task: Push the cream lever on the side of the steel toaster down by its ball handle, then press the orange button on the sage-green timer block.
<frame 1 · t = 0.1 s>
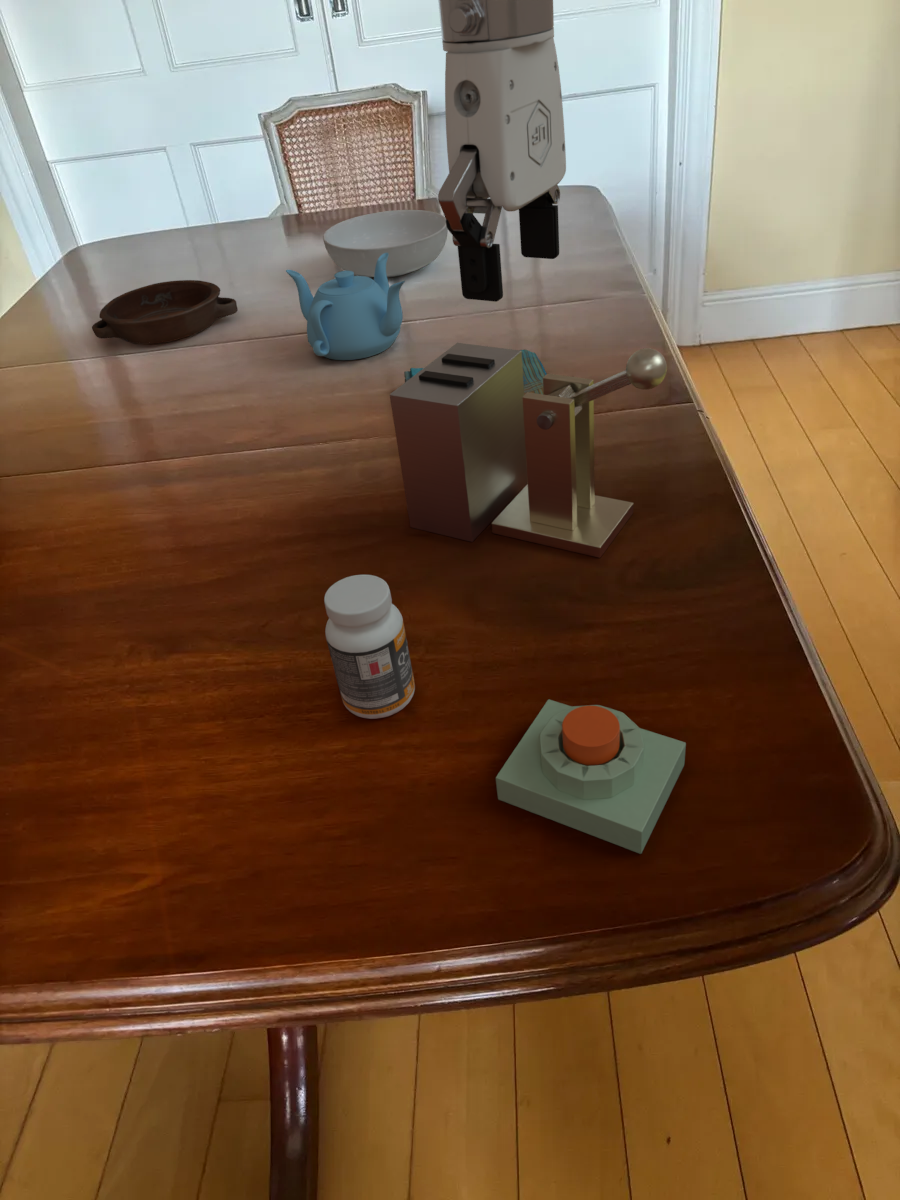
hand: (512, 276, 70), 24 cm above the table, tool pointing down, fingers open, 9 cm apart
timer block: (591, 782, 60), on the table
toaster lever: (601, 388, 74), point 14 cm above the table, hinge at 30.0°
teapot: (361, 344, 127), on the table
timer button: (590, 735, 57), point 5 cm above the table, slide at 0.2 cm
serving bowl: (391, 270, 152), on the table
dish towel: (487, 415, 105), on the table
toaster: (471, 503, 90), on the table
pill bottle: (379, 697, 69), on the table
bracket: (562, 523, 85), on the table
dish: (170, 331, 140), on the table
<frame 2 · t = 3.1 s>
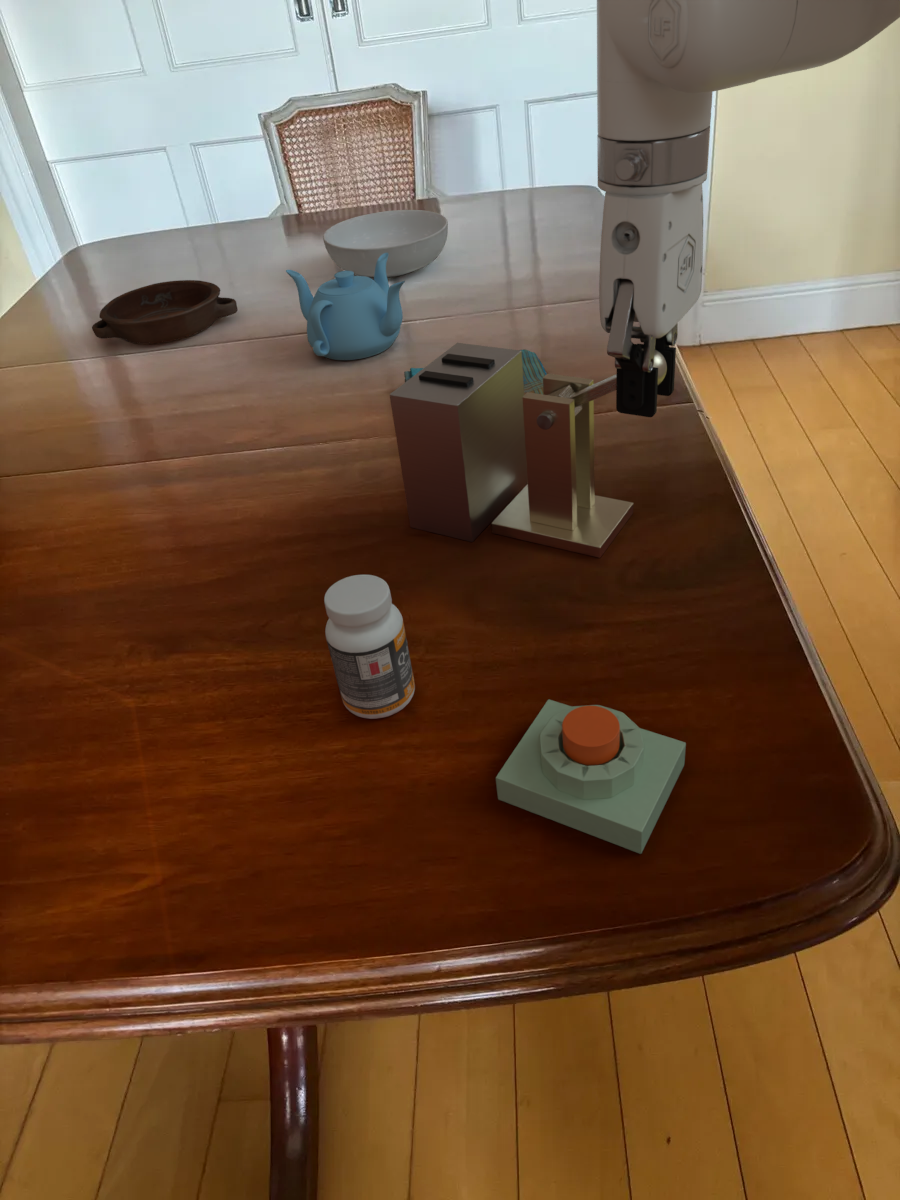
hand: (645, 400, 73), 14 cm above the table, tool pointing down, fingers closed on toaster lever, 3 cm apart
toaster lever: (601, 388, 74), point 14 cm above the table, hinge at 30.0°, touching gripper
everything else where it was.
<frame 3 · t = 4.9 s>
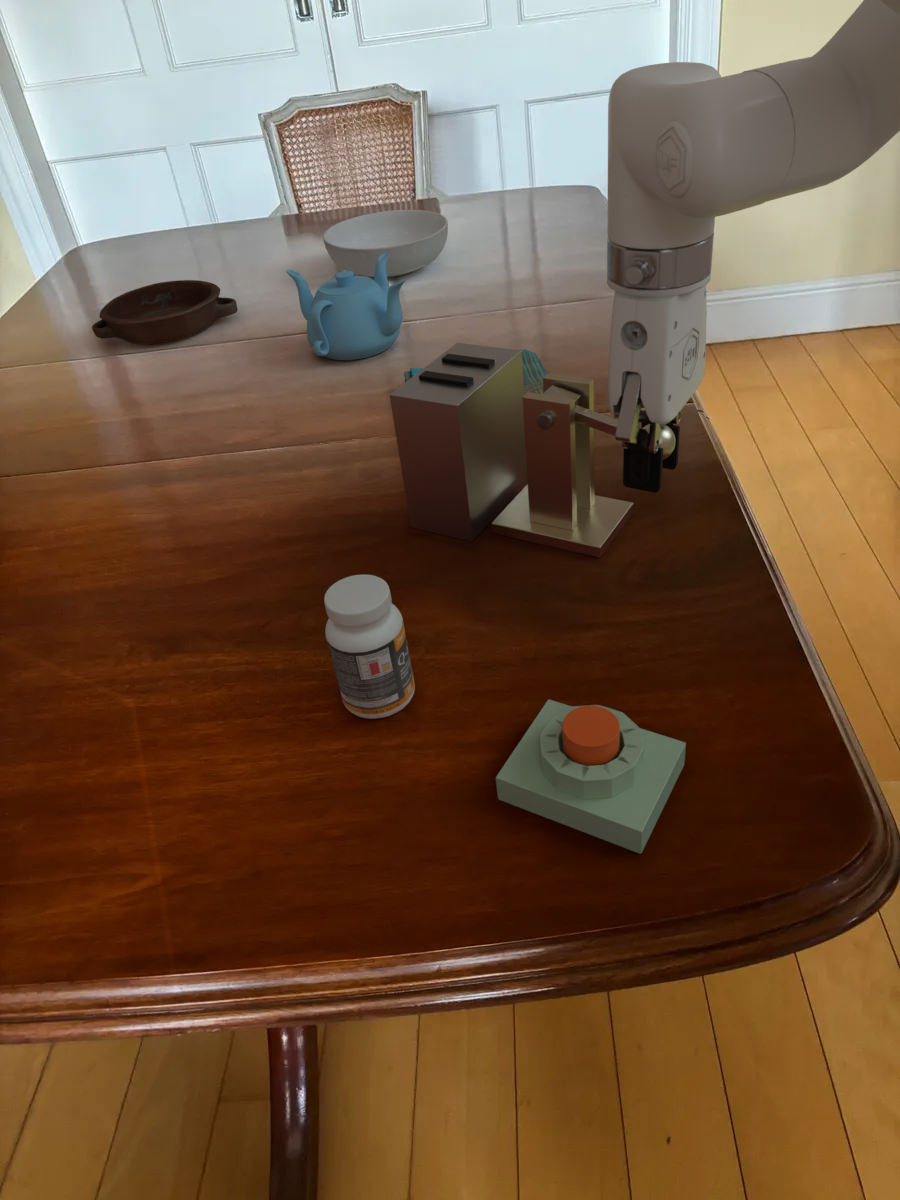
hand: (650, 475, 77), 7 cm above the table, tool pointing down, fingers closed on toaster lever, 3 cm apart
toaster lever: (607, 424, 76), point 11 cm above the table, hinge at -11.9°, touching gripper
everything else where it was.
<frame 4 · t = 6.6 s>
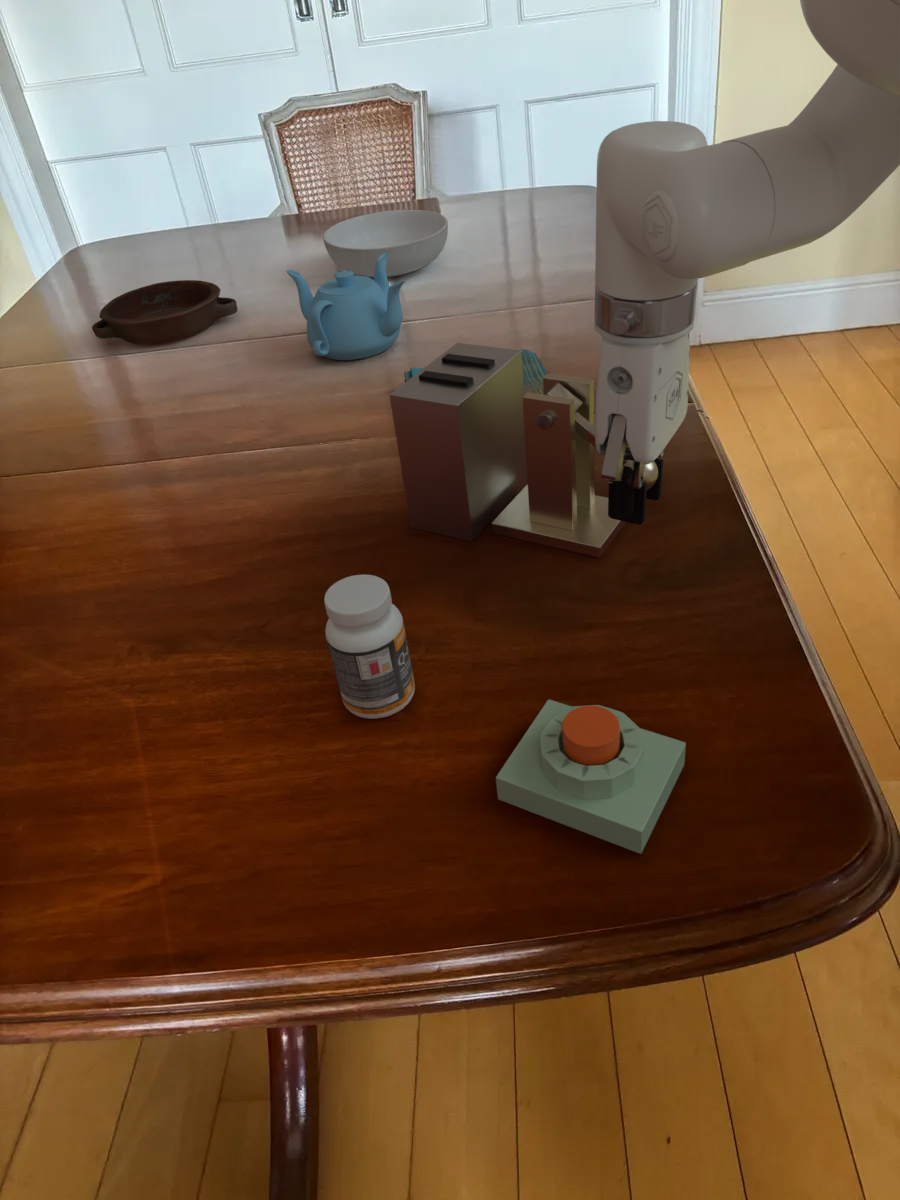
hand: (634, 506, 80), 3 cm above the table, tool pointing down, fingers closed on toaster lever, 3 cm apart
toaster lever: (599, 440, 78), point 9 cm above the table, hinge at -34.5°, touching gripper
everything else where it was.
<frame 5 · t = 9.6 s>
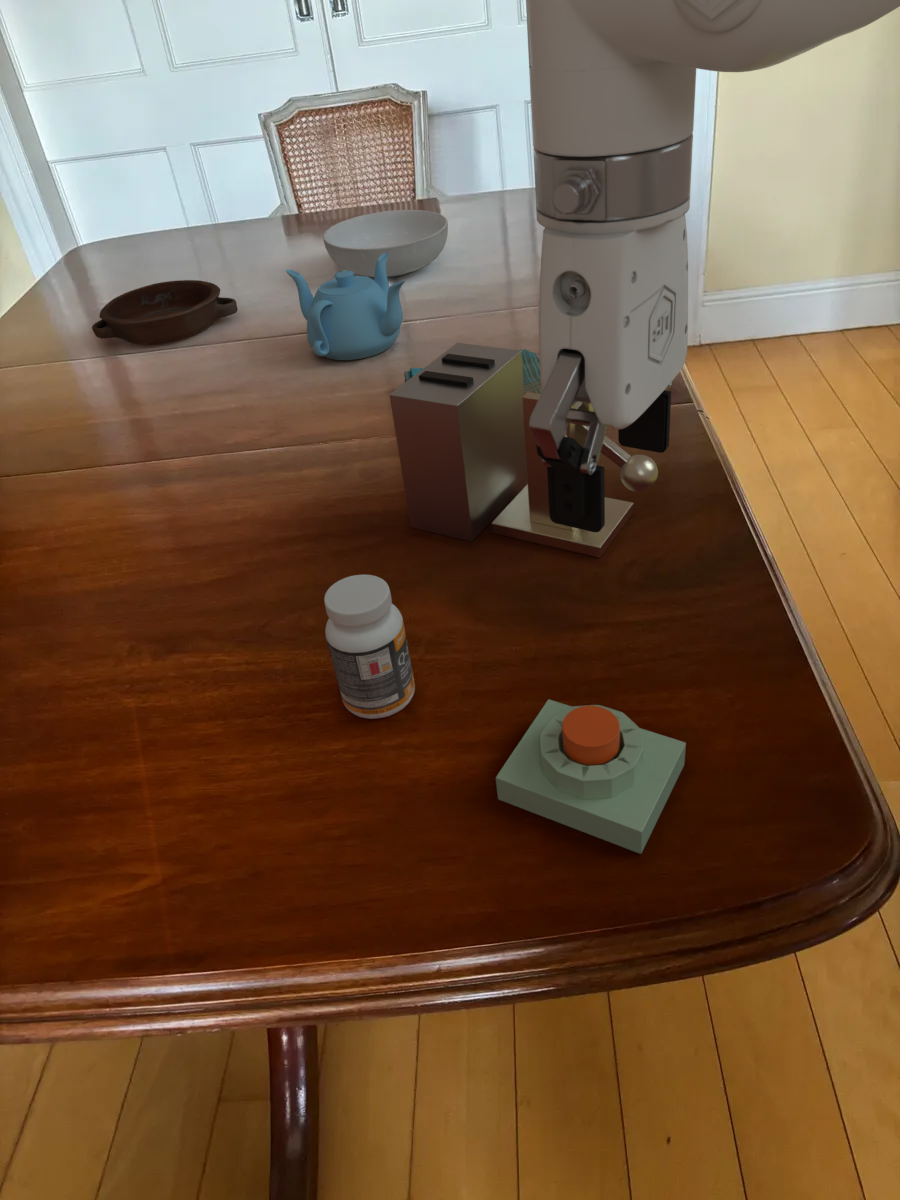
hand: (612, 484, 54), 19 cm above the table, tool pointing down, fingers open, 9 cm apart
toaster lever: (599, 440, 78), point 9 cm above the table, hinge at -34.5°
everything else where it was.
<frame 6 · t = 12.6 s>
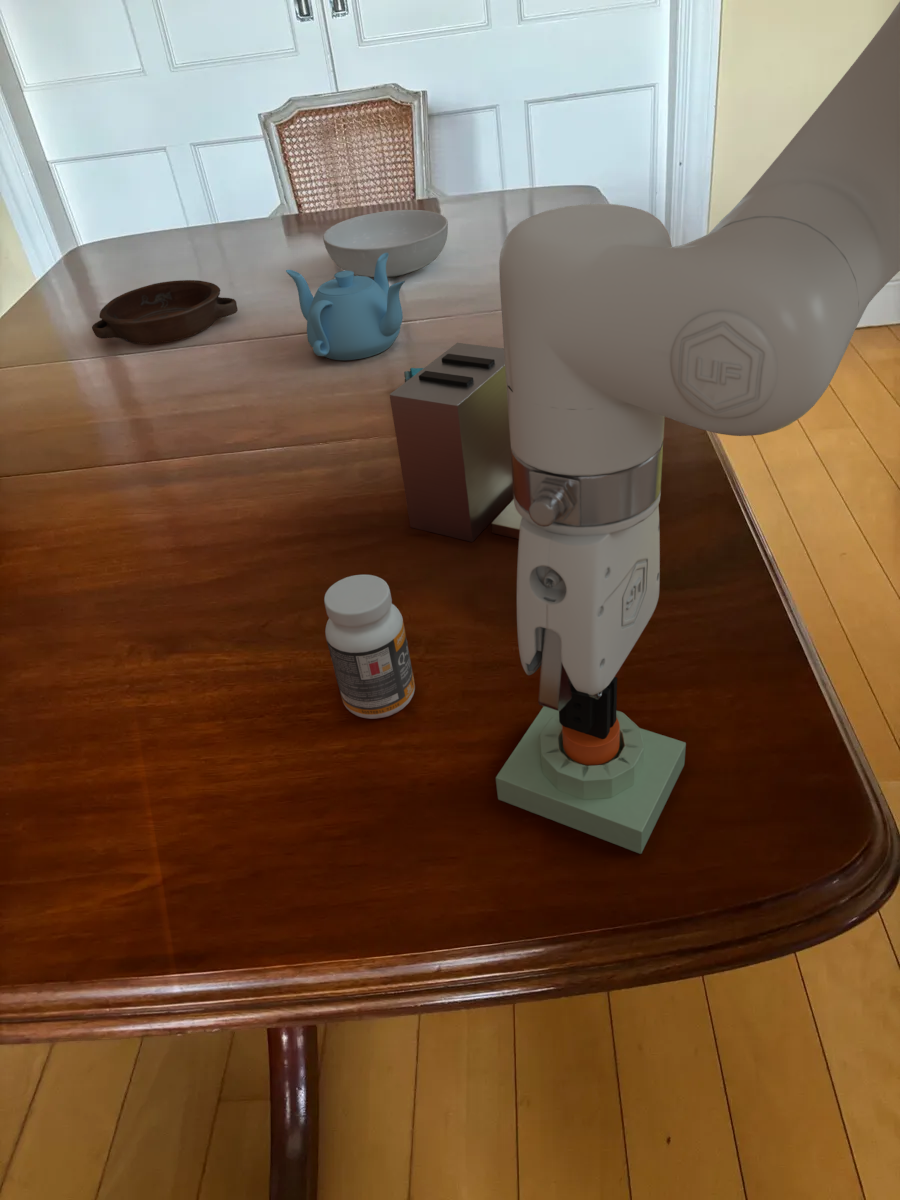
hand: (587, 723, 57), 5 cm above the table, tool pointing down, fingers closed
timer button: (590, 735, 57), point 5 cm above the table, slide at 0.2 cm, touching gripper
everything else where it was.
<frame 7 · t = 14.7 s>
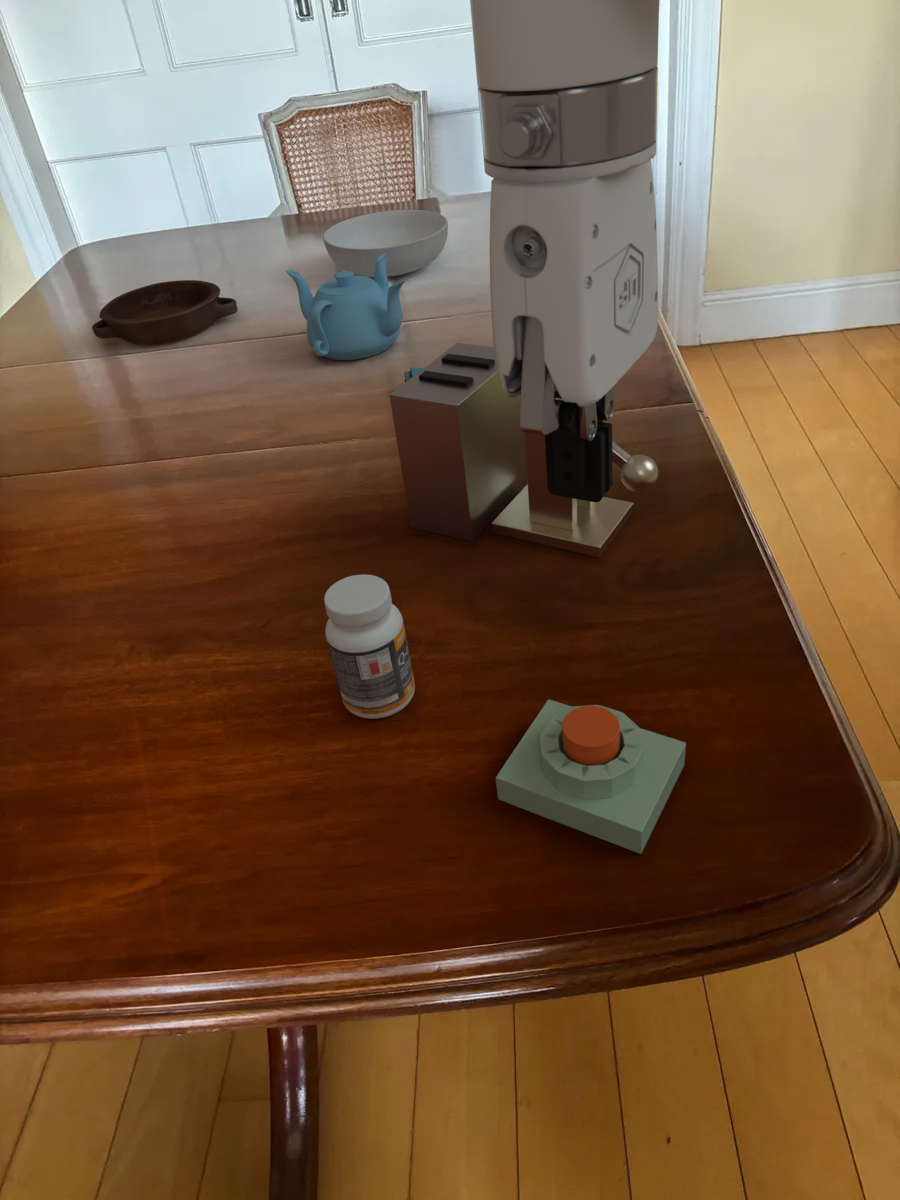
hand: (580, 490, 50), 21 cm above the table, tool pointing down, fingers closed
timer button: (590, 735, 57), point 5 cm above the table, slide at 0.1 cm
everything else where it was.
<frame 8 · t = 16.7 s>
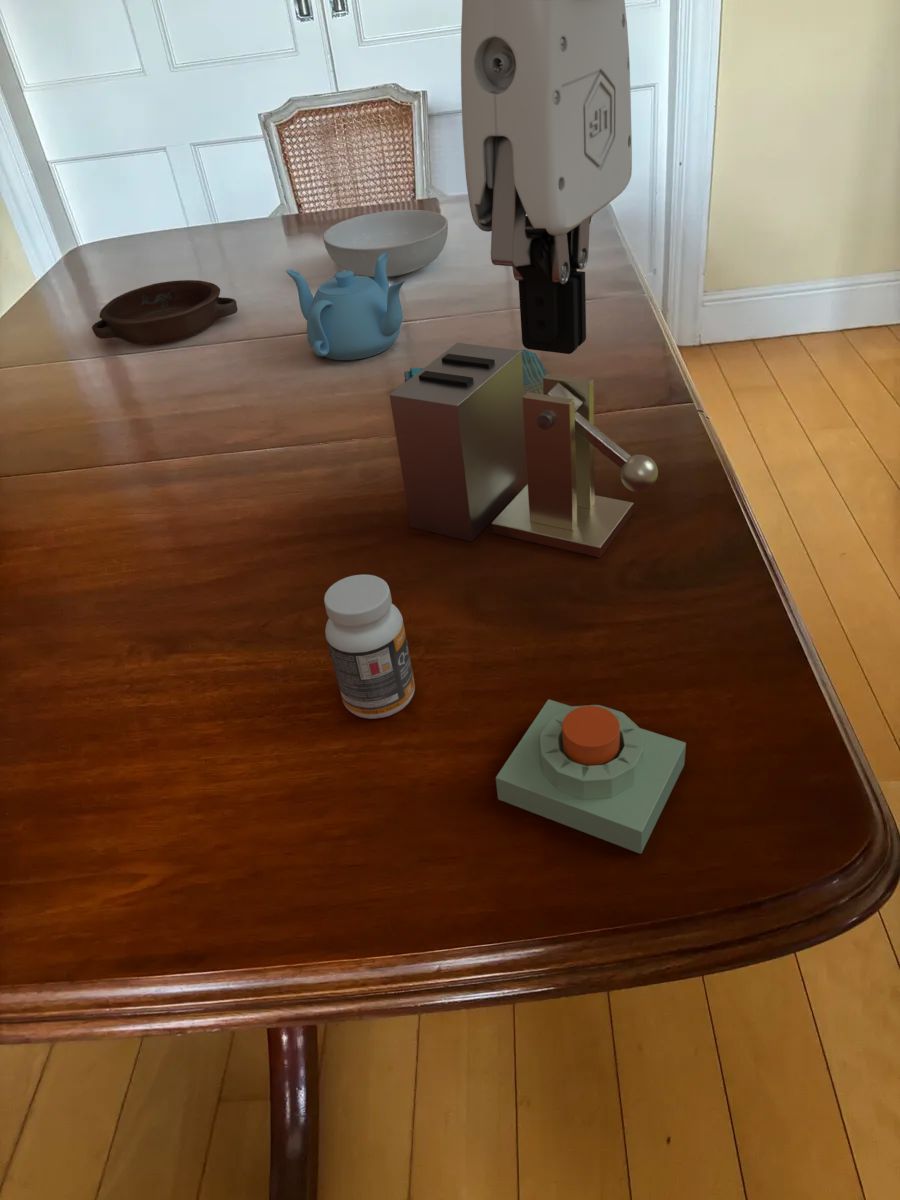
hand: (554, 345, 50), 27 cm above the table, tool pointing down, fingers closed
nothing on the table moved.
at the end: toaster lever at -34° (first picture: +30°); timer button pushed in 1.1 cm at the most during the clip, back to where it started at the end; timer button slide at 0.1 cm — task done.
